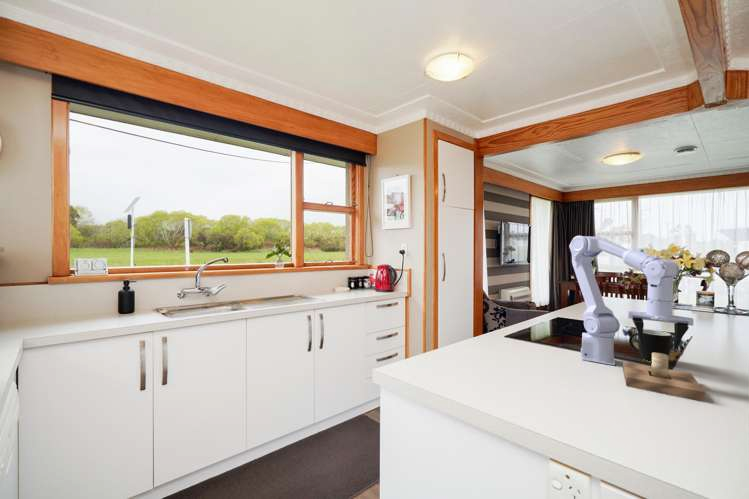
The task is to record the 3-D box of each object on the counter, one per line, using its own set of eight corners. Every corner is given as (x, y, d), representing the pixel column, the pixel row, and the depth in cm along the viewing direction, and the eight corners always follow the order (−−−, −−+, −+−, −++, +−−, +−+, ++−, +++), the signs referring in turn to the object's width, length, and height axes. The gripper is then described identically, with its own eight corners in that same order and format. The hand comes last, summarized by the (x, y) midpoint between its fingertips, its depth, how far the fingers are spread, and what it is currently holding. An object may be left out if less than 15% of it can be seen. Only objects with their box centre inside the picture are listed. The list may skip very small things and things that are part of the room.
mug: (675, 363, 114) (676, 334, 114) (662, 367, 110) (663, 336, 110) (635, 353, 124) (636, 326, 124) (622, 356, 120) (623, 328, 120)
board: (626, 385, 93) (626, 377, 93) (623, 369, 107) (623, 361, 107) (704, 401, 84) (705, 392, 84) (690, 381, 98) (690, 373, 98)
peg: (651, 384, 95) (652, 354, 95) (650, 380, 98) (651, 351, 98) (668, 387, 93) (669, 357, 93) (667, 383, 96) (667, 354, 96)
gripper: (629, 298, 99) (628, 344, 99) (696, 304, 90) (694, 354, 90) (628, 296, 104) (626, 339, 104) (691, 301, 96) (689, 348, 96)
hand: (658, 345), depth 98 cm, fingers open, 7 cm apart
